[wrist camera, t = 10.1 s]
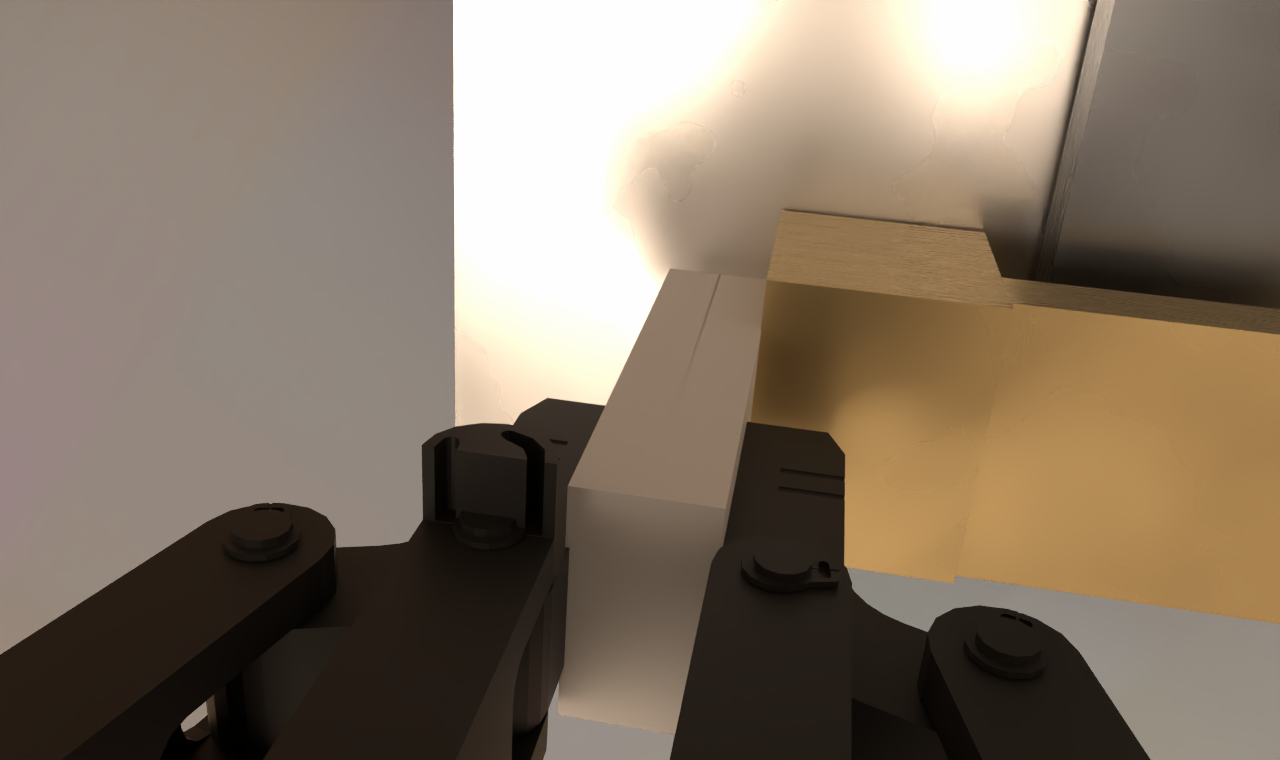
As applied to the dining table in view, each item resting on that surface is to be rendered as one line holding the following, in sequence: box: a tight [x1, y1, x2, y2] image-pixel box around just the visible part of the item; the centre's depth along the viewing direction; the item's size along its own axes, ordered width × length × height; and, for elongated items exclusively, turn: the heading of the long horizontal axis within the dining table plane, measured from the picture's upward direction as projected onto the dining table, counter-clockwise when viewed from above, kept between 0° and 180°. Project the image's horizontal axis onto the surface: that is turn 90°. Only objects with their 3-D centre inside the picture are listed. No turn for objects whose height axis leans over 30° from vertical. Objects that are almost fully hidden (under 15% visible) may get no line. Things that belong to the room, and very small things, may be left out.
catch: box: [750, 210, 1280, 624], centre depth 16 cm, size 4×8×3 cm, turn 86°
